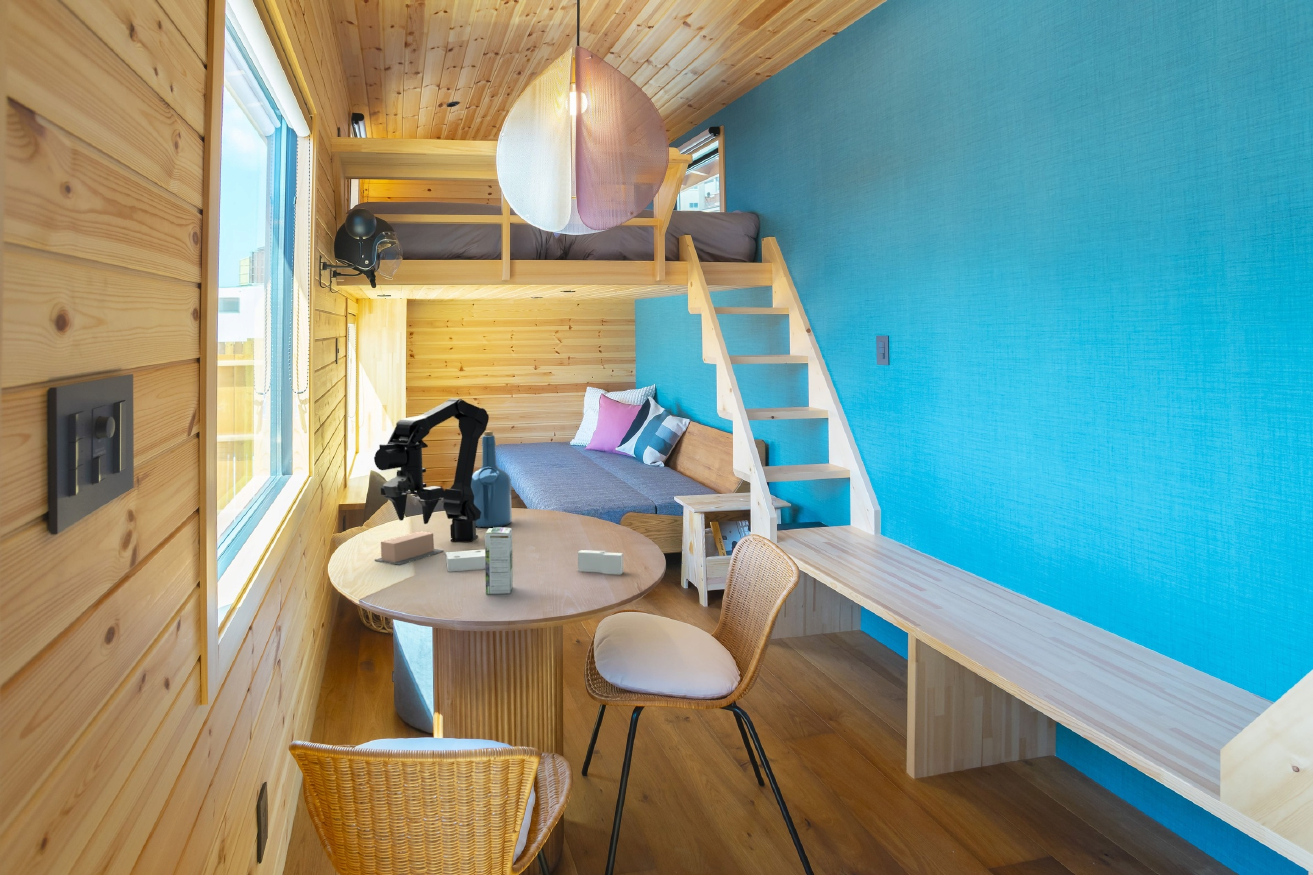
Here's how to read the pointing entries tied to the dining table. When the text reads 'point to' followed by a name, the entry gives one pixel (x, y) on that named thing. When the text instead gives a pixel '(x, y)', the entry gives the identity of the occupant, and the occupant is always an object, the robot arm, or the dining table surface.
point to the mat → (411, 558)
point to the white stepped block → (600, 562)
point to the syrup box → (498, 560)
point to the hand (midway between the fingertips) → (413, 522)
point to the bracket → (465, 560)
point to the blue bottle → (491, 488)
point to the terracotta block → (407, 546)
